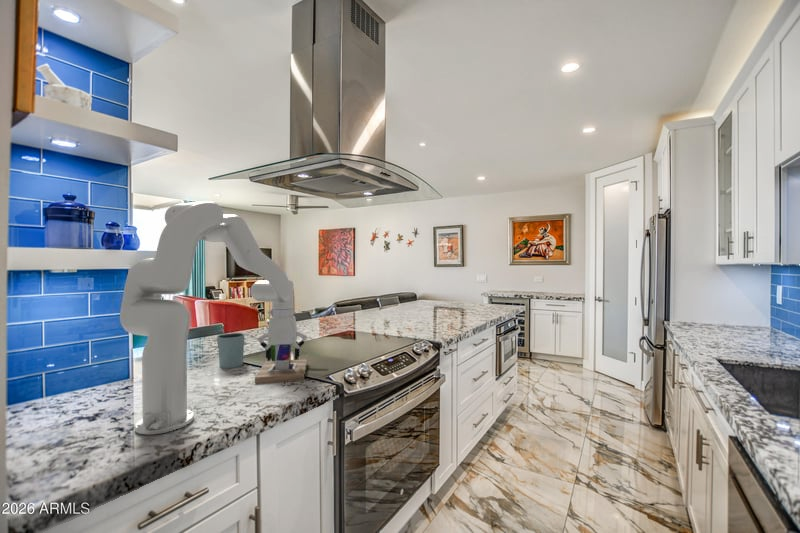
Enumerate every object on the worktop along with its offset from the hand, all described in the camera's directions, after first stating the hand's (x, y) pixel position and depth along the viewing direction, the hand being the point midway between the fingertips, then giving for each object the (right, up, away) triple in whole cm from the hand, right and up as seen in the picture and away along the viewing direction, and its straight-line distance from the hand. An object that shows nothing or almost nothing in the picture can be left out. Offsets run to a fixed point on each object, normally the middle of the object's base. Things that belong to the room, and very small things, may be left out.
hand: (282, 359), depth 133 cm
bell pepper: (-6, -5, +14) cm, 16 cm away
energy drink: (0, -5, 0) cm, 5 cm away
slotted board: (0, -5, 0) cm, 5 cm away
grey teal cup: (-24, -5, +11) cm, 27 cm away
